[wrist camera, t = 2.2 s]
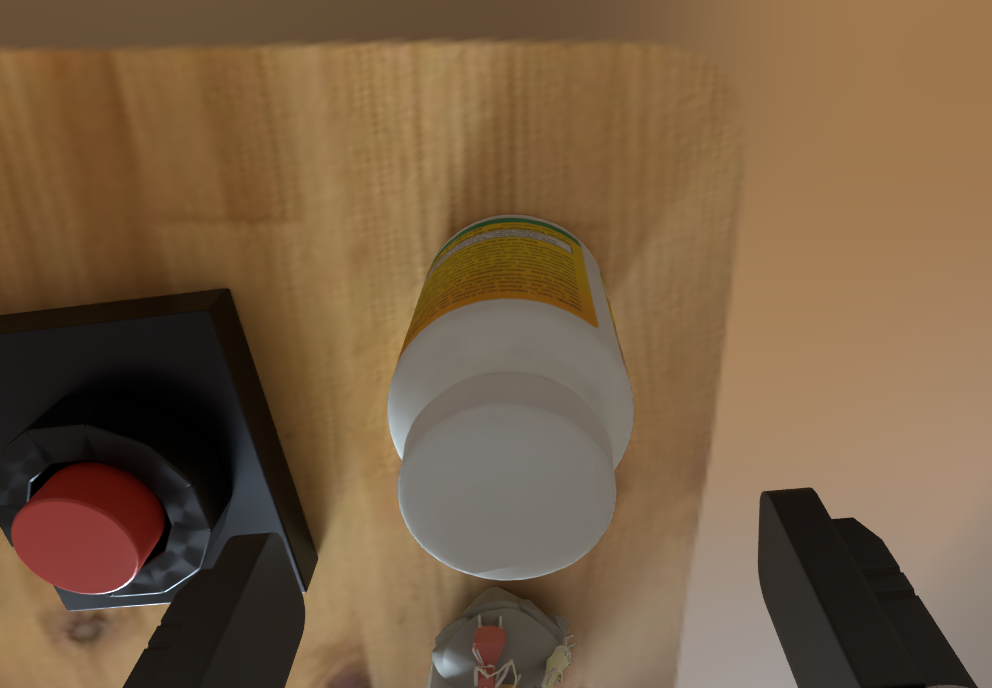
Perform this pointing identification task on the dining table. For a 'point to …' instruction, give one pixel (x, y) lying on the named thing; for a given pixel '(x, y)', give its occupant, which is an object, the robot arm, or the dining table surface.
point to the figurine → (503, 645)
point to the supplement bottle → (510, 402)
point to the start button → (88, 528)
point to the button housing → (150, 428)
